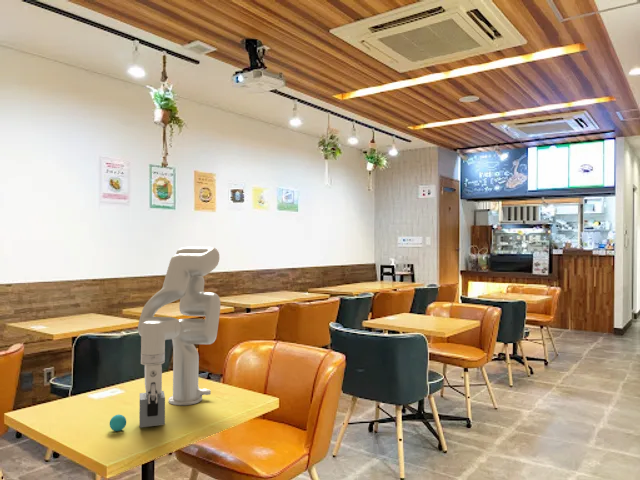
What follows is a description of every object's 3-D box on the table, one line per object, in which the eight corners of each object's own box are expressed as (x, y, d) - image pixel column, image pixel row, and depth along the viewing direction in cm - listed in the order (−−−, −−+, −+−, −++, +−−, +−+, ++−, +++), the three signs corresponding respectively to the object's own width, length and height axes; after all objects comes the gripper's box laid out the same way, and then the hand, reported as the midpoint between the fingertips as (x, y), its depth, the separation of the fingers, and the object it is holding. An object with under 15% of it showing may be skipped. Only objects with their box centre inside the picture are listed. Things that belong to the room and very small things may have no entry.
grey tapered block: (163, 416, 167) (163, 390, 168) (164, 424, 160) (164, 397, 160) (139, 419, 165) (139, 393, 165) (139, 427, 158) (139, 399, 158)
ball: (105, 419, 159) (114, 431, 160) (106, 424, 155) (115, 436, 156) (120, 409, 161) (128, 421, 162) (121, 413, 157) (130, 425, 158)
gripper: (166, 363, 156) (165, 419, 156) (163, 352, 172) (162, 402, 172) (141, 365, 153) (140, 421, 153) (140, 353, 170) (139, 404, 169)
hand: (152, 411), depth 163 cm, fingers closed on grey tapered block, 7 cm apart
